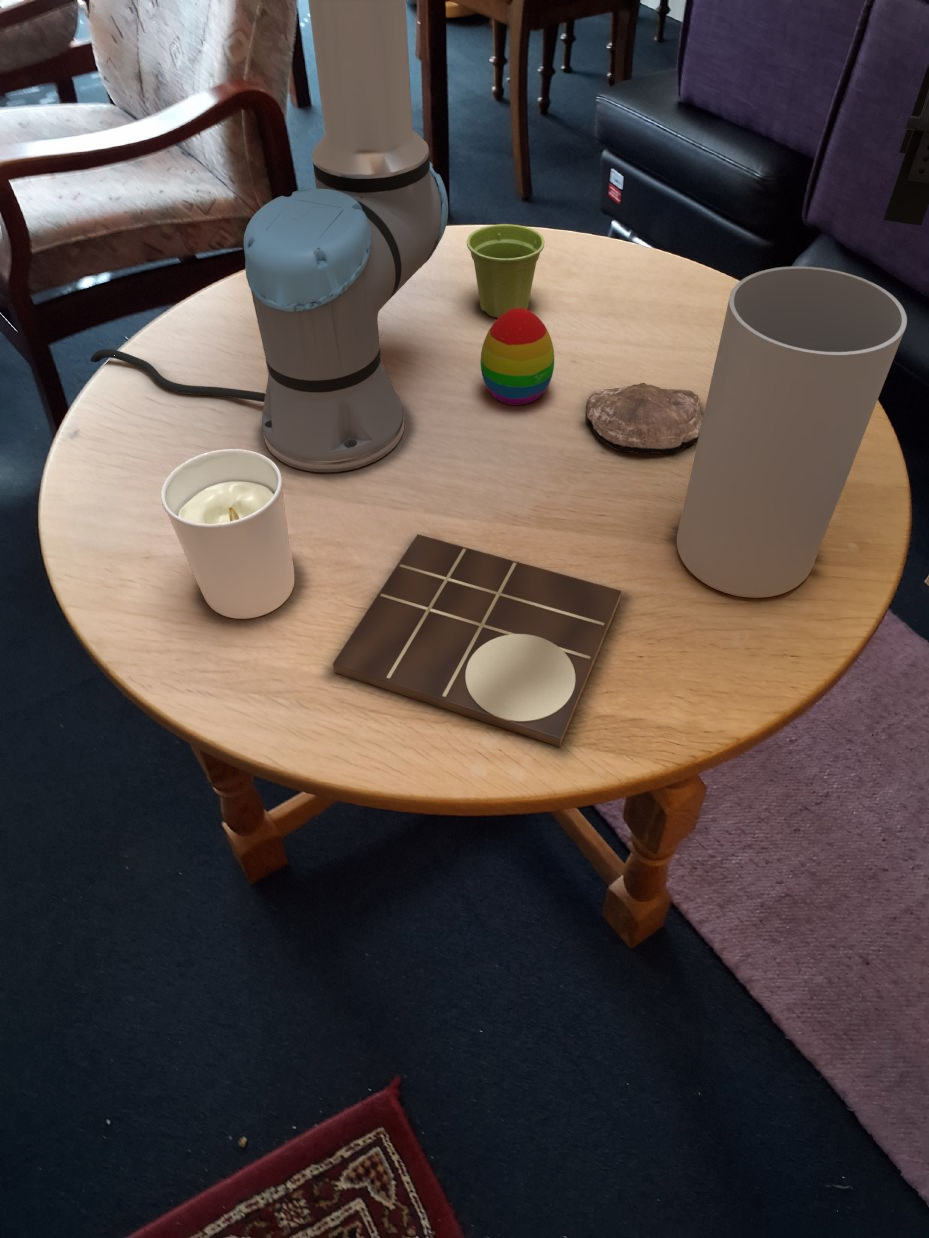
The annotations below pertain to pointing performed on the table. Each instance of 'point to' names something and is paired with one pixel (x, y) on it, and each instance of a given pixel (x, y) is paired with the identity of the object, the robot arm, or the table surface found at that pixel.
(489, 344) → the decorative egg
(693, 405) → the shell
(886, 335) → the cylinder vase
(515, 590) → the board
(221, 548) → the candle holder
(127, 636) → the table surface
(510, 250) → the plant pot
